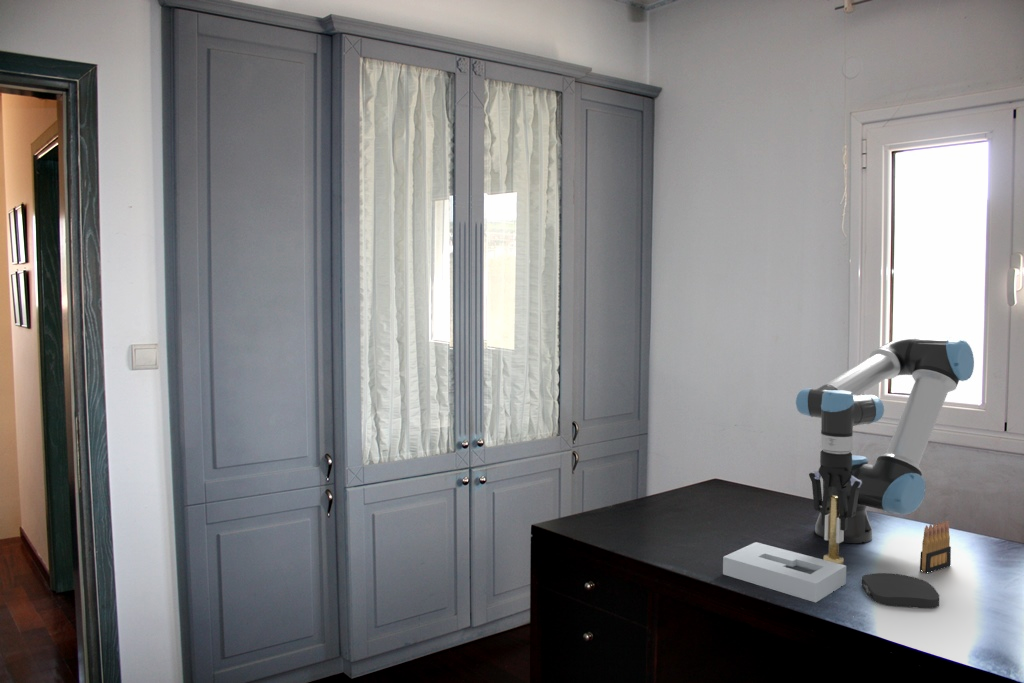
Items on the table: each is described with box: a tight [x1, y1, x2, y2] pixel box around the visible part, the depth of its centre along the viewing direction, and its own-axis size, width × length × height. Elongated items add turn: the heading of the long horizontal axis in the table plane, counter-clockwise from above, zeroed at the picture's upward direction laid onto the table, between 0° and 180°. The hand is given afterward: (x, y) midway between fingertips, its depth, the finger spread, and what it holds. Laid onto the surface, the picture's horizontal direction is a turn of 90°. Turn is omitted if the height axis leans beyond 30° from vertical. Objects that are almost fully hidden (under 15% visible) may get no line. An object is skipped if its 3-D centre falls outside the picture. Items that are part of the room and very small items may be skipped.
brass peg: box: [822, 495, 845, 565], centre depth 198 cm, size 5×5×18 cm
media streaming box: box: [861, 572, 940, 609], centre depth 179 cm, size 15×15×3 cm
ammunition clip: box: [919, 519, 952, 574], centre depth 195 cm, size 11×2×12 cm, turn 121°
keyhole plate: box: [722, 541, 847, 603], centre depth 189 cm, size 24×16×4 cm, turn 43°
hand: (833, 540), depth 198 cm, fingers closed on brass peg, 2 cm apart
